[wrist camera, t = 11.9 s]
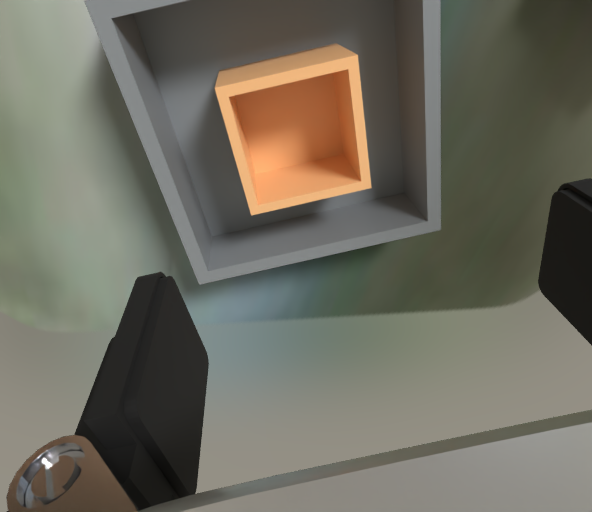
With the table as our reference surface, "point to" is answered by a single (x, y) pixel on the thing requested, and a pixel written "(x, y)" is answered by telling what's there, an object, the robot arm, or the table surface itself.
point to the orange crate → (296, 127)
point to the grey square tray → (215, 141)
